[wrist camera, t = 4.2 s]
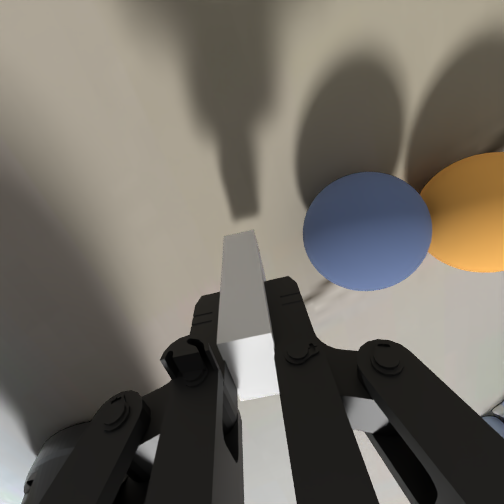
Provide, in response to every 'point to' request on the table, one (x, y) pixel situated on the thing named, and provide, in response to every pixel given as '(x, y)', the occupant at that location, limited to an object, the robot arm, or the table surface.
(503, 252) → the orange ball
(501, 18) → the table surface
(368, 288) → the blue ball
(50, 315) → the table surface
